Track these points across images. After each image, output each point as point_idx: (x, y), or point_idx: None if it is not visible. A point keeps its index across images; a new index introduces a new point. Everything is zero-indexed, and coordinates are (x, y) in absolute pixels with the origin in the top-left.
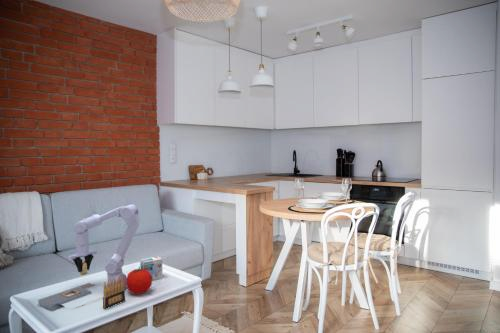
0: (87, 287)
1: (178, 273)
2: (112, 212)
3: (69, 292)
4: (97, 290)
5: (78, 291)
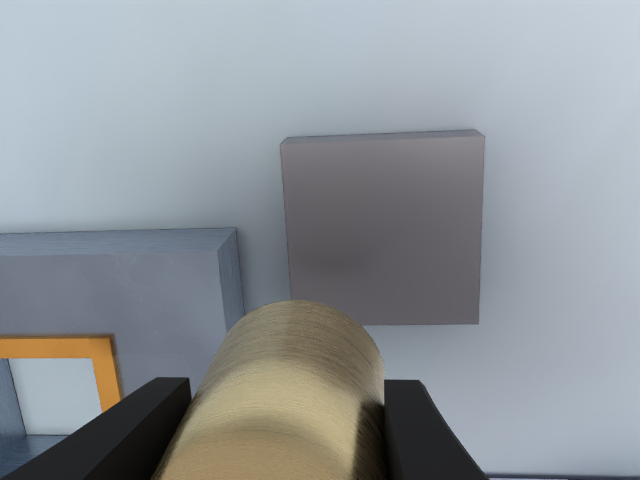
0: None
1: None
2: None
3: (49, 354)
4: None
5: None
